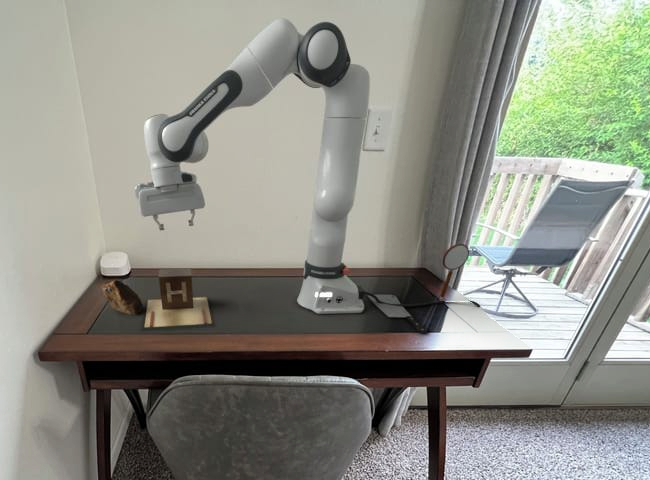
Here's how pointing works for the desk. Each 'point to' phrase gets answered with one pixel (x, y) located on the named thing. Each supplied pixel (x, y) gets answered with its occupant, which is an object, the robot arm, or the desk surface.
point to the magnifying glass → (454, 261)
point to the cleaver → (396, 310)
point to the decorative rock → (122, 297)
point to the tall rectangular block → (176, 288)
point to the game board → (177, 314)
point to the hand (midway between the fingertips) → (176, 227)
